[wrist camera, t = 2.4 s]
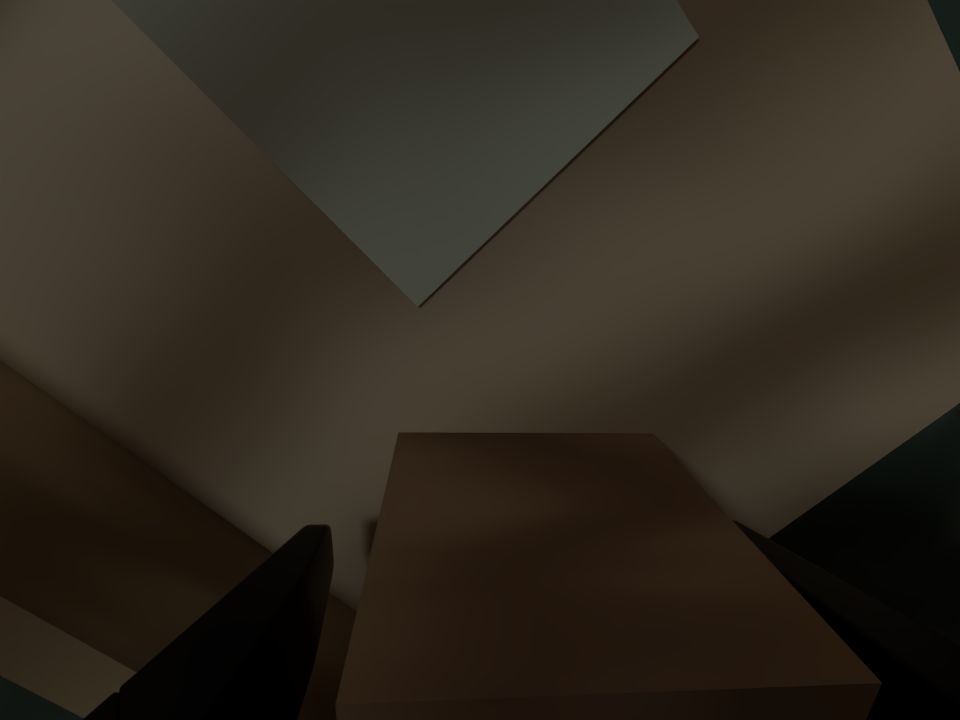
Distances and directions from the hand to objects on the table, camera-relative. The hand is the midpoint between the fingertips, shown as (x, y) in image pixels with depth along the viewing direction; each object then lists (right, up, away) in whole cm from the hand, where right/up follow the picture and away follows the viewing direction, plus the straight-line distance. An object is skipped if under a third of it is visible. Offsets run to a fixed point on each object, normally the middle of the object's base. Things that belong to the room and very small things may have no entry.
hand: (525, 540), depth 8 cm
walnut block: (0, 0, +1) cm, 1 cm away
